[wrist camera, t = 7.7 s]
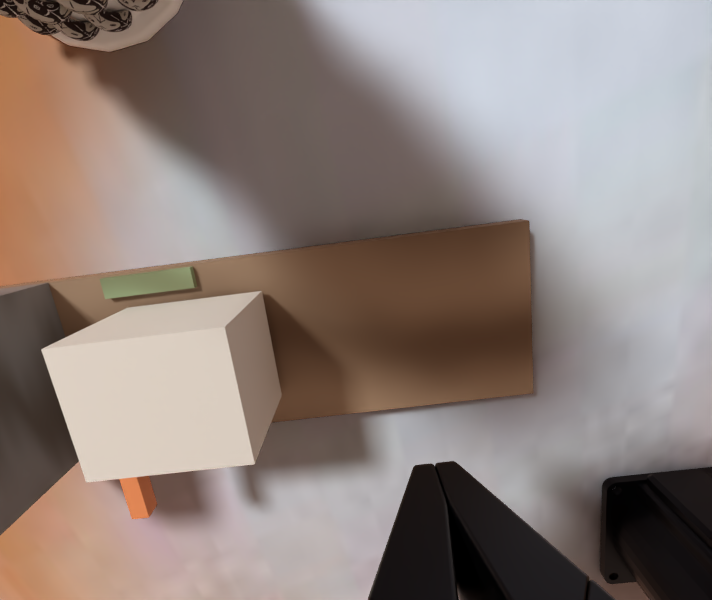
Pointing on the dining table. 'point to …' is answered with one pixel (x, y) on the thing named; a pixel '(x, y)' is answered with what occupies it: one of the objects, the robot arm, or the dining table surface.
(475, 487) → the robot arm
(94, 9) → the decorative candle
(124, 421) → the block
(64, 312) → the gauge board
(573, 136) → the dining table surface
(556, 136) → the dining table surface
